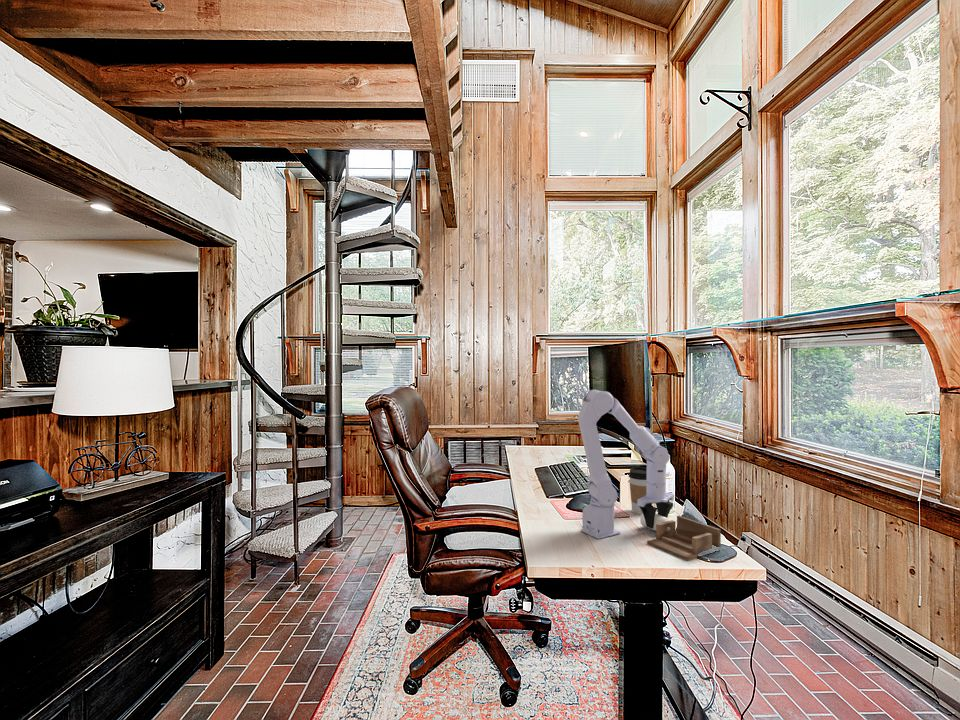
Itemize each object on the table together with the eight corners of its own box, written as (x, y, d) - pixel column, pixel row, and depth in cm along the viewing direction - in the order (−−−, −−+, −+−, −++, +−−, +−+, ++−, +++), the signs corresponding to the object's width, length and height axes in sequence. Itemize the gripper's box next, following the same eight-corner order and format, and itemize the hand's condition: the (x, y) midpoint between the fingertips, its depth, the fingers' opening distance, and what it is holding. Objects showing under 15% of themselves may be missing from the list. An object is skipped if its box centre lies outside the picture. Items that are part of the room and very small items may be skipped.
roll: (659, 531, 144) (665, 516, 145) (637, 523, 151) (643, 508, 152) (669, 537, 146) (674, 521, 147) (647, 528, 153) (652, 513, 154)
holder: (687, 560, 126) (688, 538, 126) (647, 543, 138) (647, 522, 138) (720, 550, 133) (720, 529, 133) (679, 535, 145) (679, 515, 145)
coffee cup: (649, 508, 171) (650, 467, 171) (656, 516, 162) (656, 472, 162) (626, 507, 172) (626, 466, 172) (631, 515, 163) (631, 472, 163)
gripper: (650, 488, 142) (650, 534, 142) (682, 482, 149) (682, 525, 149) (632, 483, 148) (632, 526, 148) (663, 477, 155) (663, 519, 155)
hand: (655, 525), depth 149 cm, fingers closed on roll, 5 cm apart
